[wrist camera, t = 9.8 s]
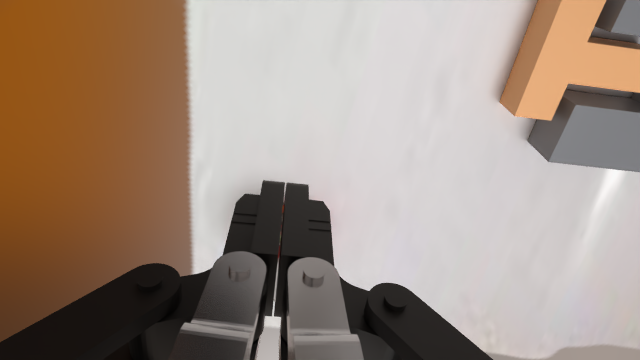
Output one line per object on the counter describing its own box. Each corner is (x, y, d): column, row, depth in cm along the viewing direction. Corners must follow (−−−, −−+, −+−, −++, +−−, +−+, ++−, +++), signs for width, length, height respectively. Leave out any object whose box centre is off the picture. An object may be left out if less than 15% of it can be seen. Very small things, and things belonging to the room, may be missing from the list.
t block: (543, -16, 40) (566, -11, 37) (658, 2, 41) (689, 9, 38) (499, 102, 46) (514, 116, 43) (599, 114, 47) (622, 129, 44)
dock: (611, -53, 39) (649, -50, 34) (719, -35, 40) (768, -30, 35) (527, 141, 49) (548, 161, 45) (614, 151, 50) (643, 172, 46)
